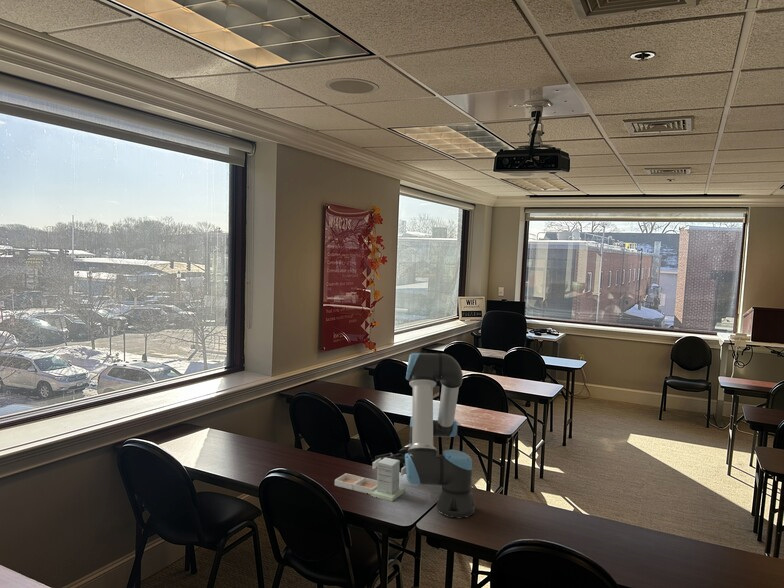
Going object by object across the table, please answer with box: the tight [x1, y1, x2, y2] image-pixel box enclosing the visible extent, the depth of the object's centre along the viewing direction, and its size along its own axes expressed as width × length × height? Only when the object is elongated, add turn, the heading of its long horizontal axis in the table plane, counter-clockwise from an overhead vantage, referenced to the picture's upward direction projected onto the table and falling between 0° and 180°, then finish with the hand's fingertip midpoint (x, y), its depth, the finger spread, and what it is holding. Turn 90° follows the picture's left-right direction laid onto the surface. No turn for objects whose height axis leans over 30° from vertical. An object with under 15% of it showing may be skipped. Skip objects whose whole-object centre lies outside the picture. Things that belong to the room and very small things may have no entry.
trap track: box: [334, 473, 406, 502], centre depth 240 cm, size 29×12×2 cm, turn 63°
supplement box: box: [376, 458, 401, 495], centre depth 236 cm, size 7×7×13 cm
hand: (387, 468), depth 234 cm, fingers open, 13 cm apart
